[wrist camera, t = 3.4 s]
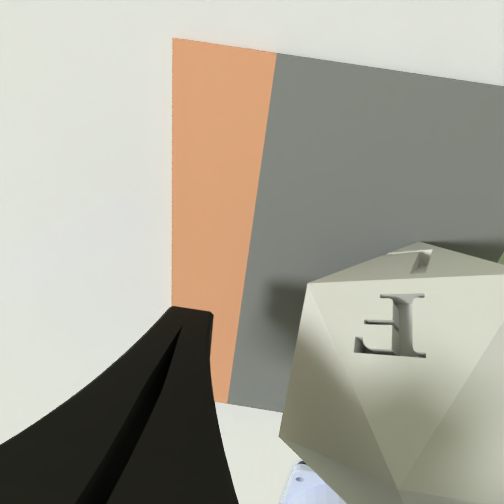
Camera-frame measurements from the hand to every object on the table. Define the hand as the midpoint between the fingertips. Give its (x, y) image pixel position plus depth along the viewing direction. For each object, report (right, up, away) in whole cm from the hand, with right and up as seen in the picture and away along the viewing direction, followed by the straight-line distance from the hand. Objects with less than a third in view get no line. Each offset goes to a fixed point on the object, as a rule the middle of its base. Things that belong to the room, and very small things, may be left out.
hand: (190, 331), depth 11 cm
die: (+8, +1, +3) cm, 8 cm away
